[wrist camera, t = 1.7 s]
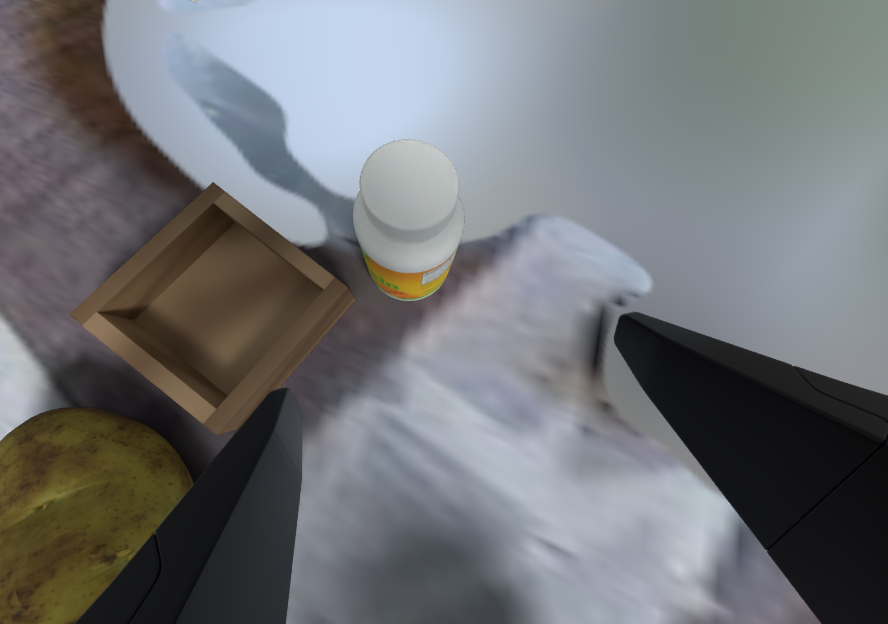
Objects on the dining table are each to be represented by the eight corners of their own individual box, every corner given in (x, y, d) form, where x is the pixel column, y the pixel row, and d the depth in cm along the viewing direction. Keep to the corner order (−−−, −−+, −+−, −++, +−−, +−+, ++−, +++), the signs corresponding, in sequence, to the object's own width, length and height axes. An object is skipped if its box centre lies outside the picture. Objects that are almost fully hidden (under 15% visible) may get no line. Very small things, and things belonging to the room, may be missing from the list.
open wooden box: (355, 299, 22) (347, 287, 19) (245, 426, 20) (216, 435, 17) (239, 208, 23) (213, 182, 20) (118, 324, 21) (68, 314, 18)
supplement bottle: (351, 258, 23) (310, 171, 13) (413, 211, 24) (416, 100, 14) (404, 319, 22) (401, 274, 13) (464, 268, 24) (503, 193, 14)
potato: (214, 376, 21) (97, 373, 13) (253, 610, 19) (142, 777, 11) (57, 416, 19) (-180, 441, 12) (81, 672, 17) (-187, 913, 10)
